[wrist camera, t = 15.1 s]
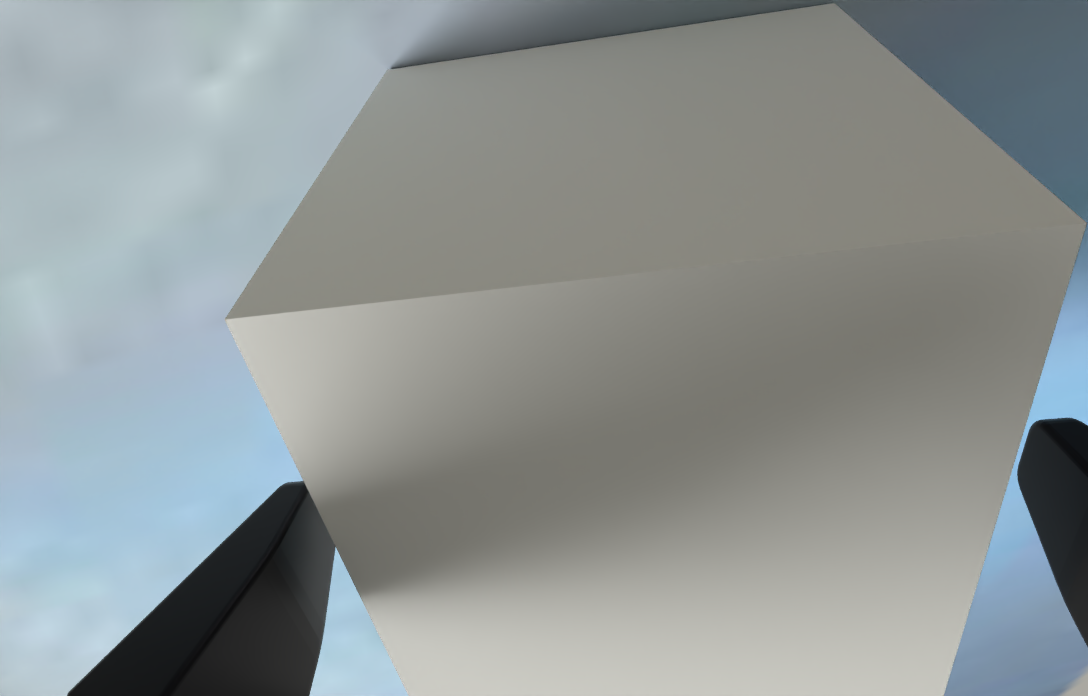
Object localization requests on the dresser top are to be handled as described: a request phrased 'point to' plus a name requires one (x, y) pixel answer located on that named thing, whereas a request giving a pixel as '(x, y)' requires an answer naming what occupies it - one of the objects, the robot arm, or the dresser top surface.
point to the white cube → (663, 362)
